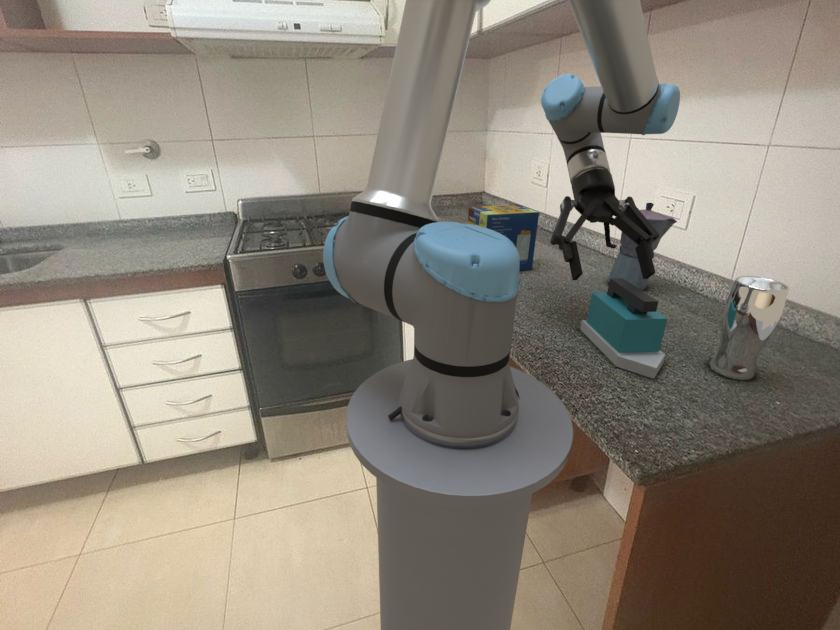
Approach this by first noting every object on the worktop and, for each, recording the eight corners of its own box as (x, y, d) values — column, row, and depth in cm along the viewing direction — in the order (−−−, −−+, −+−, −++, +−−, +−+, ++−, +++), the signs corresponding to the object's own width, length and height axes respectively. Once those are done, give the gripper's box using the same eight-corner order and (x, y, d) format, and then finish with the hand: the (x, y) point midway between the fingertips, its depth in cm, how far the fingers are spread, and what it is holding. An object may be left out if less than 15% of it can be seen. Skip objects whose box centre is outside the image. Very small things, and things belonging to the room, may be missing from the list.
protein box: (464, 263, 122) (467, 206, 116) (512, 258, 127) (518, 204, 120) (481, 275, 113) (486, 214, 107) (533, 269, 118) (540, 211, 112)
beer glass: (696, 361, 74) (722, 276, 67) (730, 357, 75) (760, 274, 69) (730, 384, 67) (763, 292, 61) (768, 379, 69) (804, 289, 63)
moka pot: (663, 295, 102) (686, 208, 94) (593, 288, 106) (609, 203, 97) (655, 282, 110) (676, 201, 102) (590, 275, 114) (605, 196, 106)
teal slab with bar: (579, 329, 84) (589, 274, 80) (619, 328, 85) (631, 274, 81) (629, 379, 68) (645, 314, 63) (677, 378, 69) (697, 313, 64)
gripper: (535, 166, 82) (554, 267, 75) (661, 167, 85) (692, 265, 77) (523, 191, 89) (539, 286, 82) (640, 191, 92) (666, 284, 84)
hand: (613, 276), depth 79 cm, fingers open, 13 cm apart
